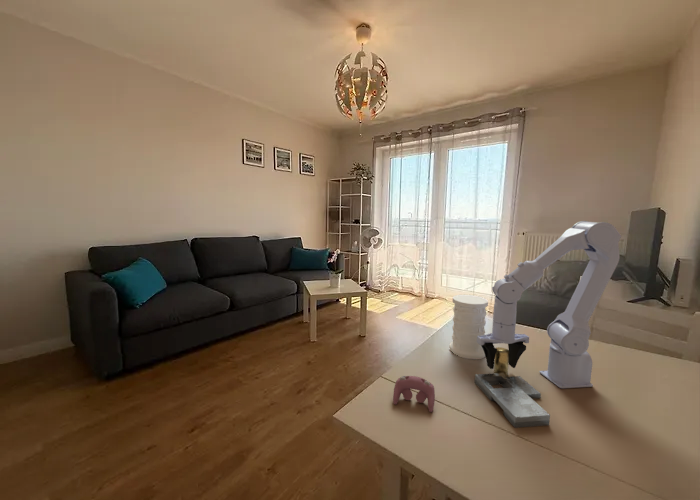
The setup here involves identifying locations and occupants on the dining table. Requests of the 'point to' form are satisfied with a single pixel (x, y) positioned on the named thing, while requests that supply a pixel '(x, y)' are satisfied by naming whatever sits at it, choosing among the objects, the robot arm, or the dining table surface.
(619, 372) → the dining table surface
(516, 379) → the lower link
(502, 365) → the pin
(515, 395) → the upper link
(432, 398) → the video game controller
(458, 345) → the decorative container
